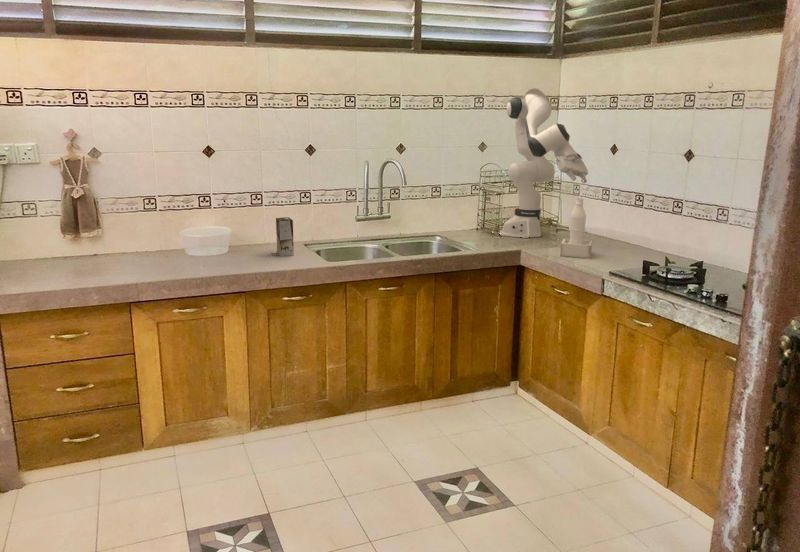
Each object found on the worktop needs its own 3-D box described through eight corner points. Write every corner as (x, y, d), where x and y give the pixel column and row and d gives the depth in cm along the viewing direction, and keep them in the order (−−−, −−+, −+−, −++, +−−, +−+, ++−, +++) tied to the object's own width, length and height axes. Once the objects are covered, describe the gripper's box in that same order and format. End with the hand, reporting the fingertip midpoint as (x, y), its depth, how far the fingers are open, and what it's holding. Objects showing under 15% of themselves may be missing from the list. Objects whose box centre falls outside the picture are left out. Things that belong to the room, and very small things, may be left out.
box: (560, 256, 292) (561, 243, 291) (562, 250, 304) (563, 238, 303) (589, 258, 288) (590, 245, 287) (591, 253, 300) (592, 240, 299)
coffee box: (294, 255, 288) (293, 220, 284) (280, 256, 286) (278, 220, 282) (290, 251, 296) (289, 216, 292) (276, 252, 294) (275, 217, 290)
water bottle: (582, 251, 298) (588, 198, 292) (582, 255, 292) (587, 200, 285) (567, 250, 300) (572, 197, 294) (566, 253, 294) (571, 199, 287)
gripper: (559, 149, 291) (573, 173, 286) (582, 156, 305) (596, 179, 300) (549, 157, 295) (562, 182, 290) (572, 164, 309) (585, 187, 304)
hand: (579, 181), depth 295 cm, fingers open, 8 cm apart
